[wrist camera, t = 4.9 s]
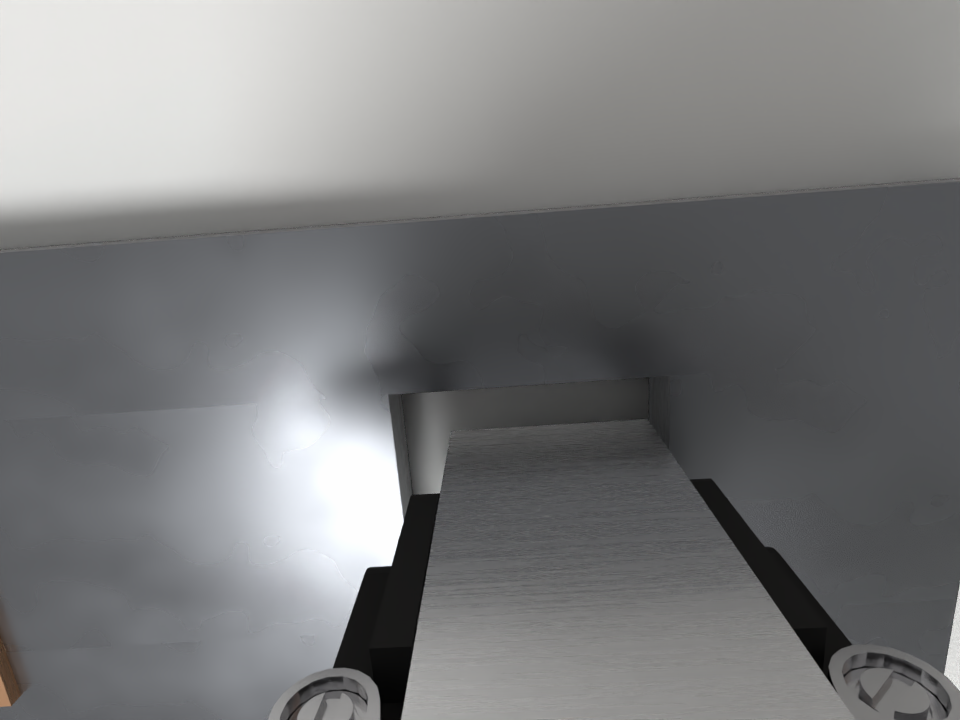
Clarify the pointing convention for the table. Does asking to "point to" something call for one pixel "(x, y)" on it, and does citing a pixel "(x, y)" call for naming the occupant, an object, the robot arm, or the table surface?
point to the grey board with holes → (445, 367)
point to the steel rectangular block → (595, 591)
